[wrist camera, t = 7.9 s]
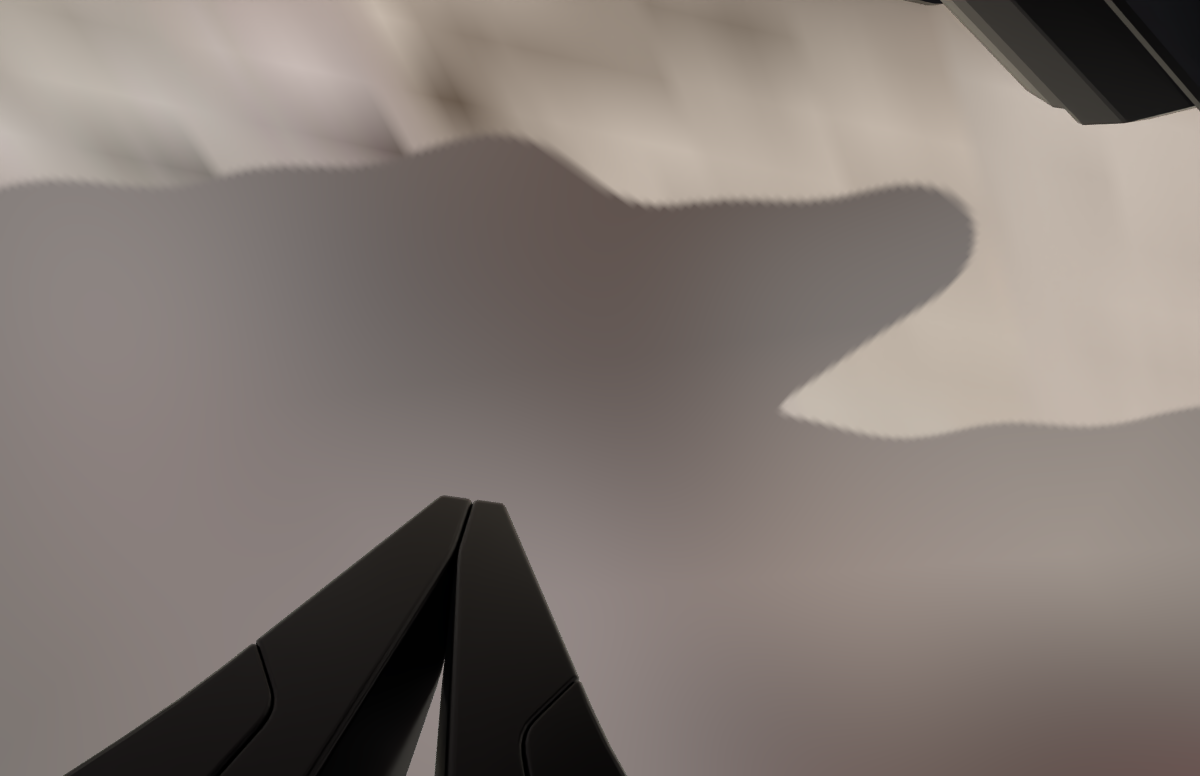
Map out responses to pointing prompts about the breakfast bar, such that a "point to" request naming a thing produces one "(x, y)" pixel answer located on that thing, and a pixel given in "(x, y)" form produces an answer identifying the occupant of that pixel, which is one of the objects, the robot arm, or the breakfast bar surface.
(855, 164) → the breakfast bar surface
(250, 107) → the breakfast bar surface
